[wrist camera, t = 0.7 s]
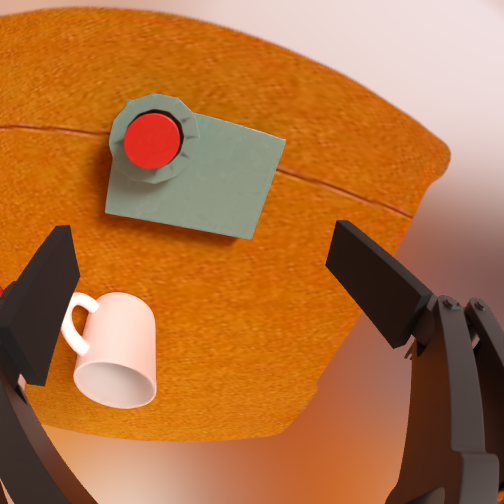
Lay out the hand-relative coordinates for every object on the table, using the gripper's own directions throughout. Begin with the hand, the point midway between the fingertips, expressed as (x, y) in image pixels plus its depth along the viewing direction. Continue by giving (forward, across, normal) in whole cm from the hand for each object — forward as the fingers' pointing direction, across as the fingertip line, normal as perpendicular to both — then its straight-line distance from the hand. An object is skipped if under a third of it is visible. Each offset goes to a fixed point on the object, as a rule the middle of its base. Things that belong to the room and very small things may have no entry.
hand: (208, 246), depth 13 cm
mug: (+14, -10, -15) cm, 23 cm away
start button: (+11, -3, +4) cm, 12 cm away
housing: (+14, 0, +1) cm, 14 cm away
